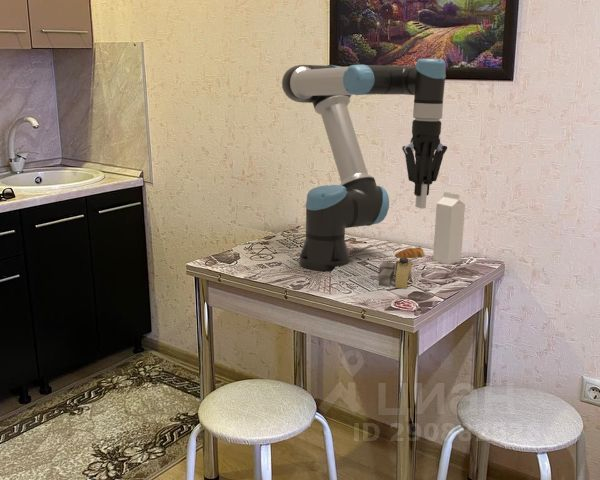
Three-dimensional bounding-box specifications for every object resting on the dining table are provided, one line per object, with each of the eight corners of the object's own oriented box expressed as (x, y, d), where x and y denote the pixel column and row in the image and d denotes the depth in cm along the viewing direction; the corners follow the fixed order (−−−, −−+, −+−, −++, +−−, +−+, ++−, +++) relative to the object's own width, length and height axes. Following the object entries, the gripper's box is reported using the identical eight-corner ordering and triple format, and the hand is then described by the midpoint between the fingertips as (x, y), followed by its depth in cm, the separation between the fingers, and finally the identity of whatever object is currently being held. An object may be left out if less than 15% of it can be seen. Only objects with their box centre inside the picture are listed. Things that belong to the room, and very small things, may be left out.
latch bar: (395, 273, 188) (396, 259, 187) (411, 274, 187) (412, 260, 186) (392, 287, 175) (393, 272, 174) (409, 288, 174) (410, 274, 173)
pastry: (401, 264, 202) (402, 252, 201) (389, 258, 208) (390, 247, 207) (427, 261, 206) (427, 249, 205) (414, 256, 212) (415, 244, 211)
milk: (447, 268, 198) (452, 195, 192) (432, 263, 202) (436, 192, 197) (460, 265, 201) (466, 193, 196) (445, 260, 206) (450, 190, 201)
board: (365, 289, 177) (366, 267, 175) (382, 266, 199) (383, 246, 197) (430, 297, 172) (431, 274, 170) (439, 272, 194) (441, 251, 192)
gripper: (439, 118, 180) (432, 203, 186) (398, 118, 175) (392, 206, 181) (456, 120, 173) (448, 208, 179) (413, 121, 168) (407, 211, 174)
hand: (420, 207), depth 180 cm, fingers closed
